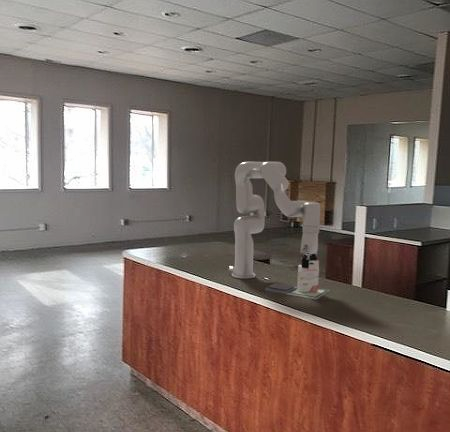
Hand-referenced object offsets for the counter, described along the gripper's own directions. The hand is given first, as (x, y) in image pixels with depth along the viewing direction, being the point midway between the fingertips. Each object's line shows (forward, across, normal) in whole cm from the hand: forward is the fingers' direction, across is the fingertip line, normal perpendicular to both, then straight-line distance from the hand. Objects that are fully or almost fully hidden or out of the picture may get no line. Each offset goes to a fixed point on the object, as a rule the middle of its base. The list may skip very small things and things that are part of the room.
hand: (309, 266), depth 225 cm
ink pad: (+13, +4, -12) cm, 18 cm away
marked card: (+13, 0, 0) cm, 13 cm away
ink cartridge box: (+12, 0, -1) cm, 12 cm away
